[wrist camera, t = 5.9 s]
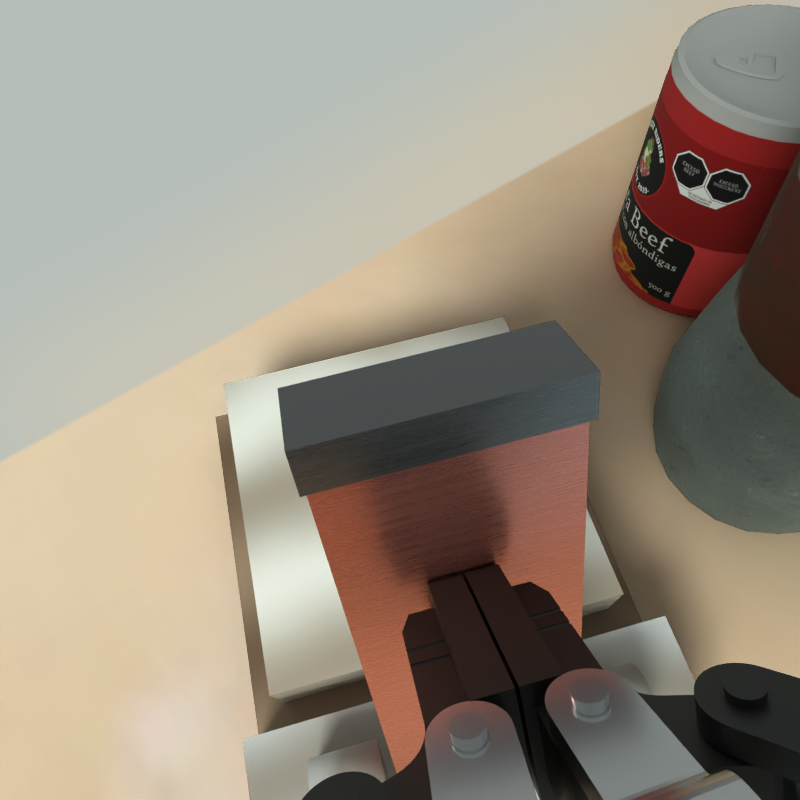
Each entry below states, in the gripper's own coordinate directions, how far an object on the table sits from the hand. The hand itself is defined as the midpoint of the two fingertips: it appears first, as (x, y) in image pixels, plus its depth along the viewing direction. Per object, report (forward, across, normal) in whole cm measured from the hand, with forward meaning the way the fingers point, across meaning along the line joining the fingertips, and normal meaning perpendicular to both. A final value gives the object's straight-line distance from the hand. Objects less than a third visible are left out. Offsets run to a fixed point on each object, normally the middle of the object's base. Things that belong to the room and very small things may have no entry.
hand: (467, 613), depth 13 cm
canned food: (+20, -17, -3) cm, 27 cm away
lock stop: (+4, 0, +7) cm, 8 cm away
